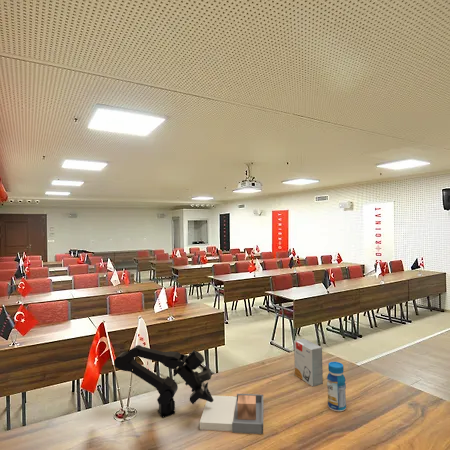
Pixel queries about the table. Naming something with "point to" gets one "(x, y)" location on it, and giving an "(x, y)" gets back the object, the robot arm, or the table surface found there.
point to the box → (250, 425)
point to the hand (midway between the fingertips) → (212, 401)
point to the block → (246, 407)
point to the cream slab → (219, 413)
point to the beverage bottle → (336, 387)
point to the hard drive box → (308, 362)
